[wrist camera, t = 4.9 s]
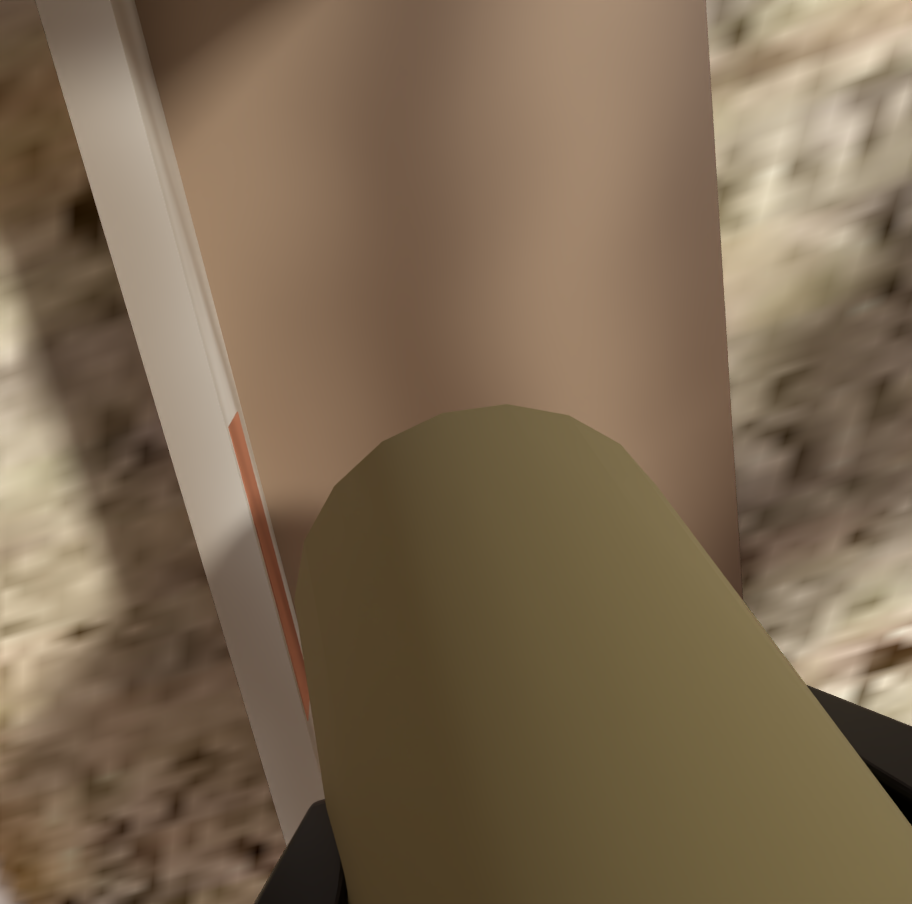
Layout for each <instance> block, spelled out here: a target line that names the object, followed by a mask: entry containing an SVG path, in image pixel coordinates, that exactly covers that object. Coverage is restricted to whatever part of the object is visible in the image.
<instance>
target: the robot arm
mask: <svg viewBox="0 0 912 904" xmlns="http://www.w3.org/2000/svg"><path fill="white" fill-rule="evenodd" d="M807 687H808V688H809V689H810V691H811V692H812V693H813V695H814V696H815V697H816V699H817V700H818V701H819V703H820V704H821V705H822V707H823V708H824V709H825V711H826V712H827V713H828V715H829V716H830V717H831V719H832V720H833V721H834V723H835V724H836V725H837V727H838V728H839V729H840V731H841V732H842V733H843V735H844V736H845V737H846V739H847V740H848V741H849V743H850V744H851V745H852V747H853V748H854V749H855V751H856V752H857V753H858V755H859V756H860V757H861V759H862V760H863V761H864V763H865V764H866V765H867V767H868V768H869V770H870V771H871V772H872V774H873V775H874V776H875V778H876V779H877V780H878V782H879V783H880V784H881V786H882V787H883V788H884V790H885V791H886V792H887V794H888V795H889V796H890V798H891V799H892V800H893V802H894V803H895V804H896V806H897V807H898V808H899V810H900V811H901V812H902V814H903V815H904V816H905V818H906V819H907V820H908V822H909V823H910V824H911V826H912V726H909V725H907V724H904V723H902V722H899V721H897V720H894V719H892V718H889V717H887V716H884V715H882V714H879V713H877V712H874V711H872V710H869V709H866V708H864V707H861V706H859V705H856V704H854V703H851V702H849V701H846V700H844V699H841V698H839V697H836V696H834V695H831V694H829V693H826V692H823V691H821V690H818V689H816V688H813V687H811V686H808V685H807ZM254 904H348V894H347V886H346V880H345V875H344V871H343V867H342V863H341V859H340V855H339V851H338V848H337V844H336V841H335V837H334V834H333V830H332V826H331V823H330V819H329V816H328V812H327V809H326V803H325V799H323V800H319V801H316V802H314V803H313V804H312V805H311V806H310V807H309V809H308V810H307V812H306V814H305V816H304V817H303V819H302V821H301V822H300V824H299V826H298V828H297V829H296V831H295V833H294V835H293V836H292V838H291V840H290V842H289V843H288V845H287V847H286V849H285V850H284V852H283V854H282V856H281V857H280V859H279V861H278V862H277V864H276V866H275V868H274V869H273V871H272V873H271V875H270V876H269V878H268V880H267V882H266V883H265V885H264V887H263V889H262V890H261V892H260V894H259V895H258V897H257V899H256V901H255V902H254Z"/></svg>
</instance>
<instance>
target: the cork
mask: <svg viewBox="0 0 912 904" xmlns="http://www.w3.org/2000/svg"><path fill="white" fill-rule="evenodd" d="M294 601H295V608H296V614H297V621H298V627H299V634H300V640H301V647H302V653H303V660H304V666H305V673H306V679H307V686H308V692H309V699H310V705H311V712H312V718H313V725H314V731H315V738H316V744H317V751H318V757H319V764H320V770H321V777H322V783H323V790H324V796H325V803H326V809H327V812H328V816H329V819H330V823H331V826H332V830H333V834H334V837H335V841H336V844H337V848H338V851H339V855H340V859H341V863H342V867H343V871H344V875H345V880H346V886H347V894H348V904H912V826H911V824H910V823H909V822H908V820H907V819H906V818H905V816H904V815H903V814H902V812H901V811H900V810H899V808H898V807H897V806H896V804H895V803H894V802H893V800H892V799H891V798H890V796H889V795H888V794H887V792H886V791H885V790H884V788H883V787H882V786H881V784H880V783H879V782H878V780H877V779H876V778H875V776H874V775H873V774H872V772H871V771H870V770H869V768H868V767H867V765H866V764H865V763H864V761H863V760H862V759H861V757H860V756H859V755H858V753H857V752H856V751H855V749H854V748H853V747H852V745H851V744H850V743H849V741H848V740H847V739H846V737H845V736H844V735H843V733H842V732H841V731H840V729H839V728H838V727H837V725H836V724H835V723H834V721H833V720H832V719H831V717H830V716H829V715H828V713H827V712H826V711H825V709H824V708H823V707H822V705H821V704H820V703H819V701H818V700H817V699H816V697H815V696H814V695H813V693H812V692H811V691H810V689H809V688H808V687H807V685H806V684H805V683H804V681H803V680H802V679H801V677H800V676H799V675H798V673H797V672H796V671H795V669H794V668H793V667H792V665H791V664H790V663H789V661H788V660H787V659H786V657H785V656H784V655H783V653H782V652H781V651H780V649H779V648H778V647H777V645H776V644H775V643H774V641H773V640H772V639H771V637H770V636H769V635H768V633H767V632H766V631H765V629H764V628H763V627H762V625H761V624H760V623H759V621H758V620H757V619H756V617H755V616H754V615H753V613H752V612H751V611H750V609H749V608H748V607H747V605H746V604H745V603H744V601H743V600H742V599H741V597H740V596H739V595H738V593H737V592H736V591H735V589H734V588H733V587H732V585H731V584H730V583H729V581H728V580H727V579H726V577H725V576H724V575H723V573H722V572H721V571H720V569H719V568H718V567H717V565H716V564H715V563H714V561H713V560H712V559H711V557H710V556H709V555H708V553H707V552H706V551H705V549H704V548H703V547H702V545H701V544H700V543H699V541H698V540H697V539H696V537H695V536H694V535H693V533H692V532H691V531H690V529H689V528H688V527H687V525H686V524H685V523H684V521H683V520H682V519H681V517H680V516H679V515H678V513H677V512H676V511H675V509H674V508H673V507H672V505H671V504H670V503H669V501H668V500H667V499H666V497H665V496H664V495H663V493H662V492H661V491H660V489H659V488H658V487H657V485H656V484H655V483H654V482H653V481H652V480H651V479H650V477H649V476H648V475H647V474H646V473H645V472H644V471H643V469H642V468H641V467H640V466H639V465H638V464H637V462H636V461H635V460H634V459H633V458H632V457H631V456H630V454H629V453H628V452H627V451H626V450H625V449H624V447H623V446H622V445H621V444H620V443H618V442H616V441H614V440H612V439H611V438H609V437H607V436H605V435H603V434H602V433H600V432H598V431H596V430H595V429H593V428H591V427H589V426H587V425H586V424H584V423H582V422H580V421H578V420H577V419H575V418H573V417H571V416H569V415H565V414H560V413H554V412H549V411H543V410H537V409H532V408H526V407H521V406H515V405H510V404H504V405H496V406H489V407H482V408H475V409H468V410H460V411H453V412H446V413H441V414H439V415H437V416H435V417H433V418H431V419H429V420H426V421H424V422H422V423H420V424H418V425H416V426H414V427H412V428H410V429H407V430H405V431H403V432H401V433H399V434H397V435H395V436H393V437H391V438H388V439H386V440H384V441H382V442H381V443H380V444H379V445H378V446H377V447H376V448H375V449H374V450H372V451H371V452H370V453H369V454H368V455H367V456H366V457H365V458H364V459H363V460H362V461H361V462H360V463H358V464H357V465H356V466H355V467H354V468H353V469H352V470H351V471H350V472H349V473H348V474H347V475H346V476H345V477H343V478H342V479H341V480H340V481H339V482H338V483H337V484H336V485H335V486H334V487H333V489H332V491H331V493H330V495H329V497H328V498H327V500H326V502H325V504H324V506H323V507H322V509H321V511H320V513H319V515H318V517H317V518H316V520H315V522H314V524H313V526H312V527H311V529H310V531H309V533H308V535H307V536H306V538H305V540H304V544H303V550H302V556H301V562H300V568H299V574H298V580H297V586H296V592H295V598H294Z"/></svg>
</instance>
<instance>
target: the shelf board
mask: <svg viewBox="0 0 912 904" xmlns="http://www.w3.org/2000/svg"><path fill="white" fill-rule="evenodd" d="M35 2H36V5H37V8H38V12H39V15H40V19H41V22H42V25H43V29H44V32H45V35H46V39H47V42H48V45H49V49H50V52H51V56H52V59H53V62H54V66H55V69H56V72H57V76H58V79H59V82H60V86H61V89H62V93H63V96H64V99H65V103H66V106H67V109H68V113H69V116H70V120H71V123H72V126H73V130H74V133H75V136H76V140H77V143H78V146H79V150H80V153H81V157H82V160H83V163H84V167H85V170H86V173H87V177H88V180H89V183H90V187H91V190H92V194H93V197H94V200H95V204H96V207H97V210H98V214H99V217H100V220H101V224H102V227H103V231H104V234H105V237H106V241H107V244H108V247H109V251H110V254H111V257H112V261H113V264H114V268H115V271H116V274H117V278H118V281H119V284H120V288H121V291H122V294H123V298H124V301H125V305H126V308H127V311H128V315H129V318H130V321H131V325H132V328H133V331H134V335H135V338H136V342H137V345H138V348H139V352H140V355H141V358H142V362H143V365H144V368H145V372H146V375H147V379H148V382H149V385H150V389H151V392H152V395H153V399H154V402H155V405H156V409H157V412H158V416H159V419H160V422H161V426H162V429H163V432H164V436H165V439H166V442H167V446H168V449H169V453H170V456H171V459H172V463H173V466H174V469H175V473H176V476H177V479H178V483H179V486H180V490H181V493H182V496H183V500H184V503H185V506H186V510H187V513H188V517H189V520H190V523H191V527H192V530H193V533H194V537H195V540H196V543H197V547H198V550H199V554H200V557H201V560H202V564H203V567H204V570H205V574H206V577H207V580H208V584H209V587H210V591H211V594H212V597H213V601H214V604H215V607H216V611H217V614H218V617H219V621H220V624H221V628H222V631H223V634H224V638H225V641H226V644H227V648H228V651H229V654H230V658H231V661H232V665H233V668H234V671H235V675H236V678H237V681H238V685H239V688H240V691H241V695H242V698H243V702H244V705H245V708H246V712H247V715H248V718H249V722H250V725H251V728H252V732H253V735H254V739H255V742H256V745H257V749H258V752H259V755H260V759H261V762H262V765H263V769H264V772H265V776H266V779H267V782H268V786H269V789H270V792H271V796H272V799H273V802H274V806H275V809H276V813H277V816H278V819H279V823H280V826H281V829H282V833H283V836H284V839H285V843H286V846H287V845H288V843H289V842H290V840H291V838H292V836H293V835H294V833H295V831H296V829H297V828H298V826H299V824H300V822H301V821H302V819H303V817H304V816H305V814H306V812H307V810H308V809H309V807H310V806H311V805H312V804H313V803H314V802H316V801H319V800H323V799H325V796H324V790H323V783H322V777H321V770H320V764H319V757H318V751H317V744H316V738H315V731H314V725H313V718H312V712H311V705H310V699H309V692H308V686H307V679H306V673H305V666H304V660H303V653H302V647H301V640H300V634H299V627H298V621H297V614H296V608H295V601H294V598H295V592H296V586H297V580H298V574H299V568H300V562H301V556H302V550H303V544H304V540H305V538H306V536H307V535H308V533H309V531H310V529H311V527H312V526H313V524H314V522H315V520H316V518H317V517H318V515H319V513H320V511H321V509H322V507H323V506H324V504H325V502H326V500H327V498H328V497H329V495H330V493H331V491H332V489H333V487H334V486H335V485H336V484H337V483H338V482H339V481H340V480H341V479H342V478H343V477H345V476H346V475H347V474H348V473H349V472H350V471H351V470H352V469H353V468H354V467H355V466H356V465H357V464H358V463H360V462H361V461H362V460H363V459H364V458H365V457H366V456H367V455H368V454H369V453H370V452H371V451H372V450H374V449H375V448H376V447H377V446H378V445H379V444H380V443H381V442H382V441H384V440H386V439H388V438H391V437H393V436H395V435H397V434H399V433H401V432H403V431H405V430H407V429H410V428H412V427H414V426H416V425H418V424H420V423H422V422H424V421H426V420H429V419H431V418H433V417H435V416H437V415H439V414H441V413H446V412H453V411H460V410H468V409H475V408H482V407H489V406H496V405H504V404H510V405H515V406H521V407H526V408H532V409H537V410H543V411H549V412H554V413H560V414H565V415H569V416H571V417H573V418H575V419H577V420H578V421H580V422H582V423H584V424H586V425H587V426H589V427H591V428H593V429H595V430H596V431H598V432H600V433H602V434H603V435H605V436H607V437H609V438H611V439H612V440H614V441H616V442H618V443H620V444H621V445H622V446H623V447H624V449H625V450H626V451H627V452H628V453H629V454H630V456H631V457H632V458H633V459H634V460H635V461H636V462H637V464H638V465H639V466H640V467H641V468H642V469H643V471H644V472H645V473H646V474H647V475H648V476H649V477H650V479H651V480H652V481H653V482H654V483H655V484H656V485H657V487H658V488H659V489H660V491H661V492H662V493H663V495H664V496H665V497H666V499H667V500H668V501H669V503H670V504H671V505H672V507H673V508H674V509H675V511H676V512H677V513H678V515H679V516H680V517H681V519H682V520H683V521H684V523H685V524H686V525H687V527H688V528H689V529H690V531H691V532H692V533H693V535H694V536H695V537H696V539H697V540H698V541H699V543H700V544H701V545H702V547H703V548H704V549H705V551H706V552H707V553H708V555H709V556H710V557H711V559H712V560H713V561H714V563H715V564H716V565H717V567H718V568H719V569H720V571H721V572H722V573H723V575H724V576H725V577H726V579H727V580H728V581H729V583H730V584H731V585H732V587H733V588H734V589H735V591H736V592H737V593H738V595H739V596H740V597H741V599H742V600H743V592H742V576H741V560H740V544H739V528H738V512H737V496H736V480H735V463H734V447H733V431H732V415H731V399H730V383H729V367H728V351H727V335H726V318H725V302H724V286H723V270H722V254H721V238H720V222H719V206H718V190H717V173H716V157H715V141H714V125H713V109H712V93H711V77H710V61H709V45H708V28H707V12H706V0H35Z"/></svg>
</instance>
